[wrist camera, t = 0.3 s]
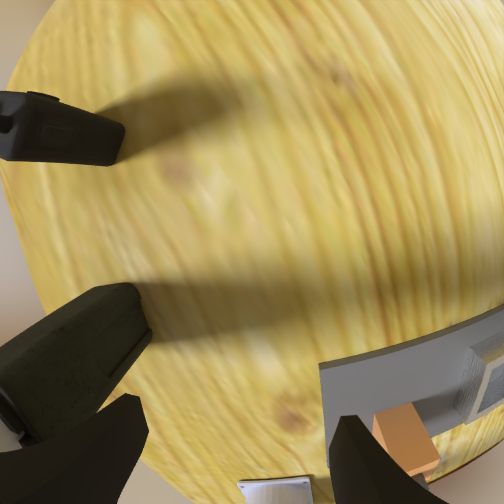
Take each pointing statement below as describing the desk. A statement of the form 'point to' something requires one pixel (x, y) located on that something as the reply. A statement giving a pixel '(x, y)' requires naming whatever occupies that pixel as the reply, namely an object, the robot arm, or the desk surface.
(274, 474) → the desk surface
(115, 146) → the walkie-talkie
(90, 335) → the black nozzle bottle
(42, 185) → the desk surface
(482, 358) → the end holder
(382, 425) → the connector plug
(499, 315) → the mat
